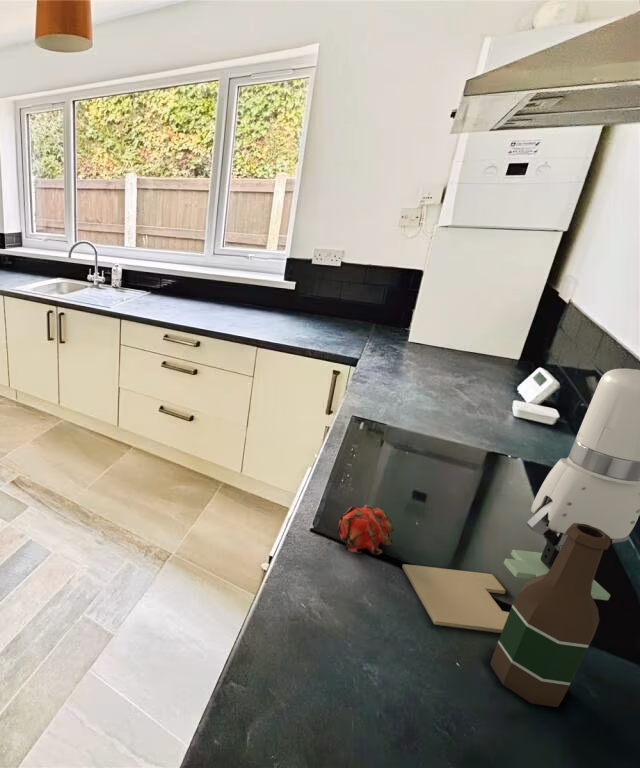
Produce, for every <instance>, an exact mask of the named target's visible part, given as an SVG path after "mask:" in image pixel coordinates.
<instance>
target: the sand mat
mask: <svg viewBox="0 0 640 768" xmlns="http://www.w3.org/2000/svg"><path fill="white" fill-rule="evenodd" d="M401 568H402V569H403V571H404V573H405V575H406V577H407V578H408V580H409V583H410V584H411V586H412V587H413V589H414V591H415V593H416V595H417V596H418V598H419V600H420V602H421V603H422V605H423V607H424V608H425V611H426V612H427V614H428V616H429V617H430V620H431V621H432V623H433V624H434V625H436V626H437V625H438V626H445V627H451V628H458V629H459V628H460V629H468V630H476V631H482V632H483V631H484V632H490V633H491V632H492V633H497V634H501V633H502V630H503V628H504V625H505V623H506V620H507V618H508V615H509V612H510V611H503V610H502V608H501V607H500V606H499V604H498V603H497V602H496V601H495V599H494V598H493V597H492V595H491V594H490V593H494V594H503V595H505V593H506V589H505V588H504V587H503V585H502V584H501V583H500V581H498V579H497V578H496V577H495V576H494V574H493V573H484V572H477V571H467V570H458V569H449V568H443V567H442V568H441V567H432V566H424V565H414V564H405V563H403V564H402V567H401Z"/></svg>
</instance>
